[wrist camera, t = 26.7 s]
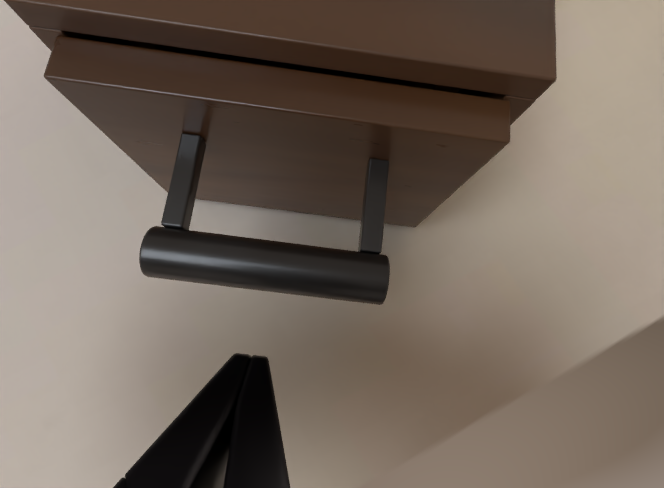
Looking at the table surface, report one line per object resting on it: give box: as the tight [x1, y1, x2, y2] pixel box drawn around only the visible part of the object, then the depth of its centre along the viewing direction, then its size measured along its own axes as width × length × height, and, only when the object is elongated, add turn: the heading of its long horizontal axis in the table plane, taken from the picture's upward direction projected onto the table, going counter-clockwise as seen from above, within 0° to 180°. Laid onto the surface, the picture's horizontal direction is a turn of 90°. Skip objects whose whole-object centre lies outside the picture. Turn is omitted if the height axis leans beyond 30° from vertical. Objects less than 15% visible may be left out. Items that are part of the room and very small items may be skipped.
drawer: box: [44, 36, 510, 305], centre depth 14 cm, size 19×11×8 cm, turn 173°
